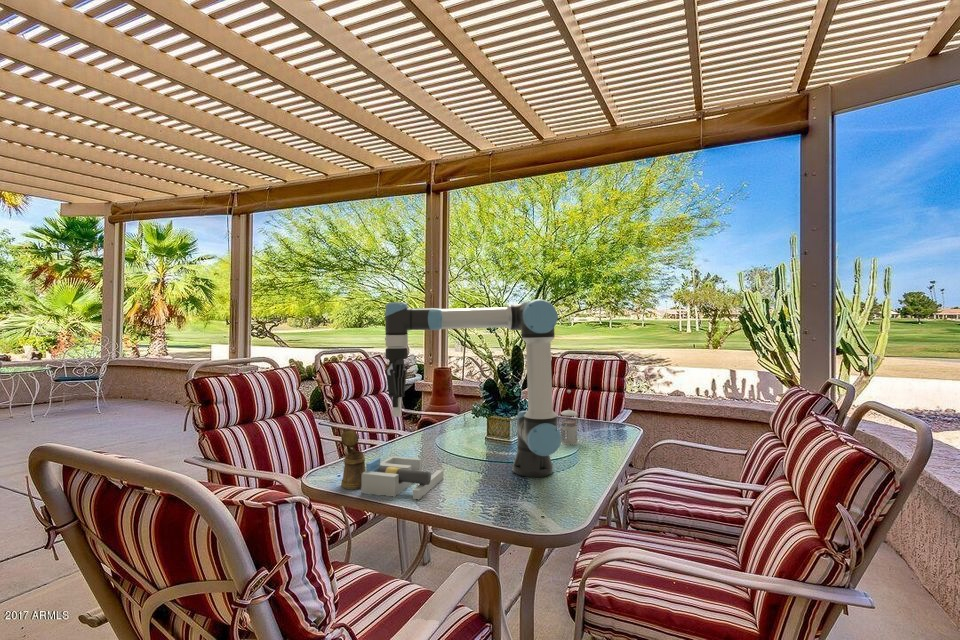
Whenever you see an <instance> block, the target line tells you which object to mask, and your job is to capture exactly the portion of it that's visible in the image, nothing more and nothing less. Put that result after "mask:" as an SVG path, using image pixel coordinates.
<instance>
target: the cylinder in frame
mask: <svg viewBox="0 0 960 640" xmlns="http://www.w3.org/2000/svg"><path fill="white" fill-rule="evenodd" d="M422 460H423V459H422V458H419V457H407V456H396V455H392V456H390V457H388V458H387V459H385V460H383V461H381V457H375V458H374V459H372V460H369V461H368V462H366V463H365V469H366V471H365V472H363V473H362V486H361V488H360V491H361V494H363V493H369V494H368V495H372V494H376V495H375V496H380V495H386V496H385V497H389V496H393V497H392V498H395V497H396V495H397V494H398V495H400V494H401V493H402V492H403V491H404V490H406V489H407V488H408V487H410V486H411V485H412V484H413V483H409V482H401V481H399V474H392V473H382V472H377V471H378V468H379V467H380V466H382V467H395V468H400V469H407V470H415V471H423V467H422V466H423V462H422ZM443 480H444V470H443V469H438V470H436V471H435V472H433V473H431V481H430V483H429V485H425V484H418V485H417V486H416V487H415V488H414V489H412V500H415V499H418V500H417V501H420V499H421V498H423V497H424V496H425V495H426V494H427V493H429V492H430V491H431V490H432V489H433V488H434V487H435V486H437V483H438V484H439V483H440V482H441V481H443ZM409 485H410V486H409ZM405 488H406V489H405ZM430 489H431V490H430ZM429 490H430V491H429ZM401 491H402V492H401ZM400 492H401V493H400ZM398 495H397V496H398ZM423 495H424V496H423ZM422 496H423V497H422Z"/></svg>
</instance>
